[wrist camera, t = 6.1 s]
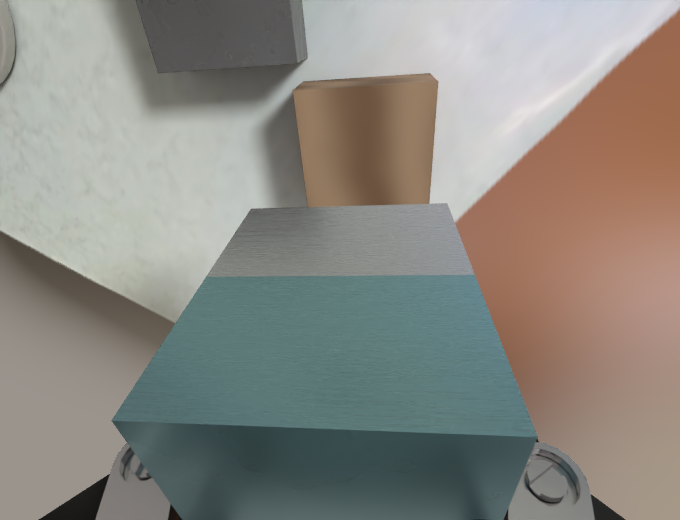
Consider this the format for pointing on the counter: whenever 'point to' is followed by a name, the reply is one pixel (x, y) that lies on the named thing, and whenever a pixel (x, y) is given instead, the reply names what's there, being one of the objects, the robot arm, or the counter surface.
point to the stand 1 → (223, 33)
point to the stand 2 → (367, 139)
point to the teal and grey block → (334, 377)
